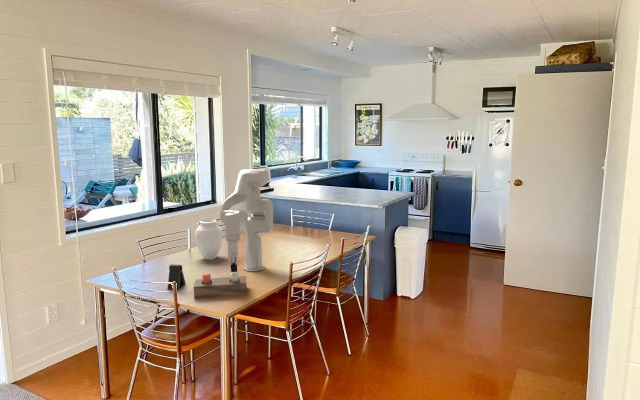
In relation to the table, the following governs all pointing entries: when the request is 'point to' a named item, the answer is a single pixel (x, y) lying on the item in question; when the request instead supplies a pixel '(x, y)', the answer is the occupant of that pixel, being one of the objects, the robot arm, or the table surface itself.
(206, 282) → the red plug
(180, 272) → the phone stand
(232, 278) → the white plug
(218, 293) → the plug block
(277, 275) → the table surface
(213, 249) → the vase
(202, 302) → the table surface
